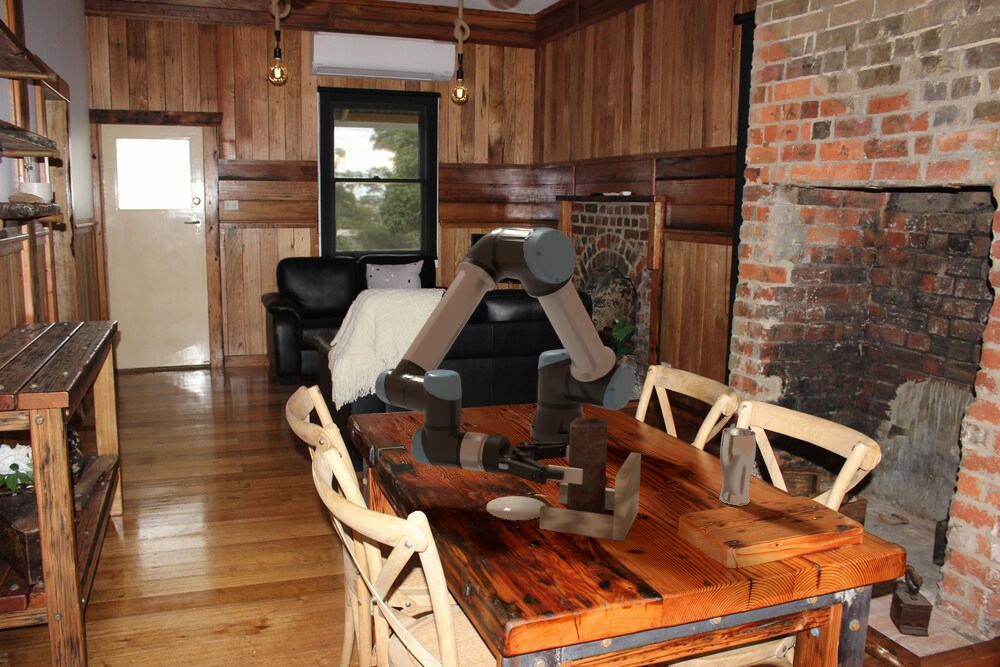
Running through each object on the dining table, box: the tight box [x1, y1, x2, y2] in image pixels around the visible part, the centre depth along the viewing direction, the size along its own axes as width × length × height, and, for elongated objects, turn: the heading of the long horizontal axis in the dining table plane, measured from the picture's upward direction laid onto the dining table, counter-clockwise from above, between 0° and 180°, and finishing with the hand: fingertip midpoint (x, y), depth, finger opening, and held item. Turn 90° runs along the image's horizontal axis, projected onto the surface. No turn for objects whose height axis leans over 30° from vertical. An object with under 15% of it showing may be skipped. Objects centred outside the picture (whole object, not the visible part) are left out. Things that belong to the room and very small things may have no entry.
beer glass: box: [719, 427, 757, 505], centre depth 172 cm, size 7×7×15 cm
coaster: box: [486, 495, 547, 521], centre depth 166 cm, size 12×12×1 cm
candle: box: [566, 416, 608, 515], centre depth 160 cm, size 8×7×20 cm
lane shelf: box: [538, 451, 642, 542], centre depth 160 cm, size 16×16×12 cm
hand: (590, 466), depth 159 cm, fingers open, 13 cm apart
